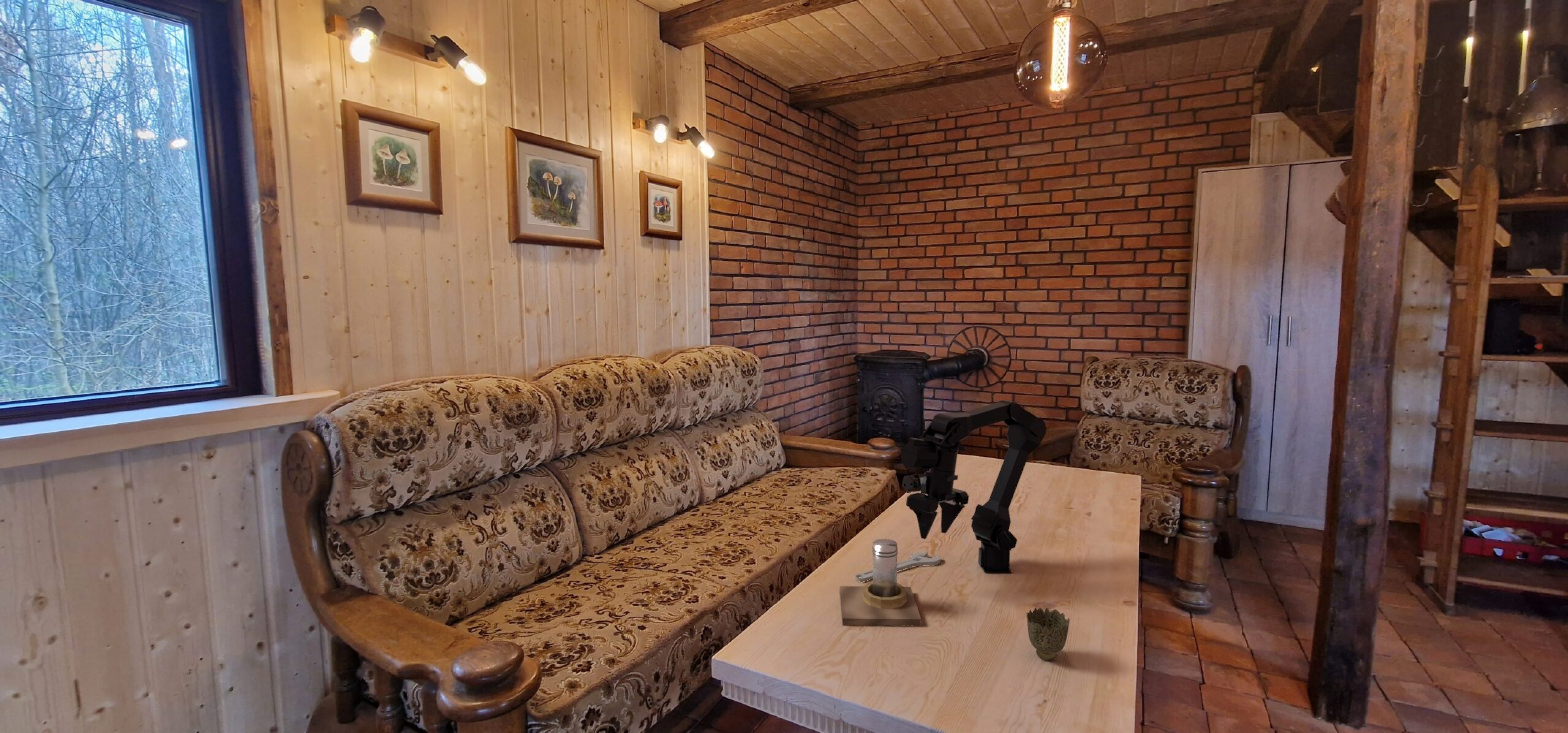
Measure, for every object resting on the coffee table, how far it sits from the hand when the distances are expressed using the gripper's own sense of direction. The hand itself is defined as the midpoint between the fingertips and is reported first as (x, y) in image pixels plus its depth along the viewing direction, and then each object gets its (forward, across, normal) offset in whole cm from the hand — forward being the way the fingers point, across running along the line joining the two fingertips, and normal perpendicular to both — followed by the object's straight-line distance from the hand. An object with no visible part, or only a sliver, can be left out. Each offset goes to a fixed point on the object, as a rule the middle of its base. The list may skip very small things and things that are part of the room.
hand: (933, 535), depth 156 cm
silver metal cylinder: (+12, +14, -2) cm, 19 cm away
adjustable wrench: (+13, -4, -11) cm, 17 cm away
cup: (+12, +12, +32) cm, 36 cm away
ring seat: (+14, +16, -2) cm, 22 cm away
